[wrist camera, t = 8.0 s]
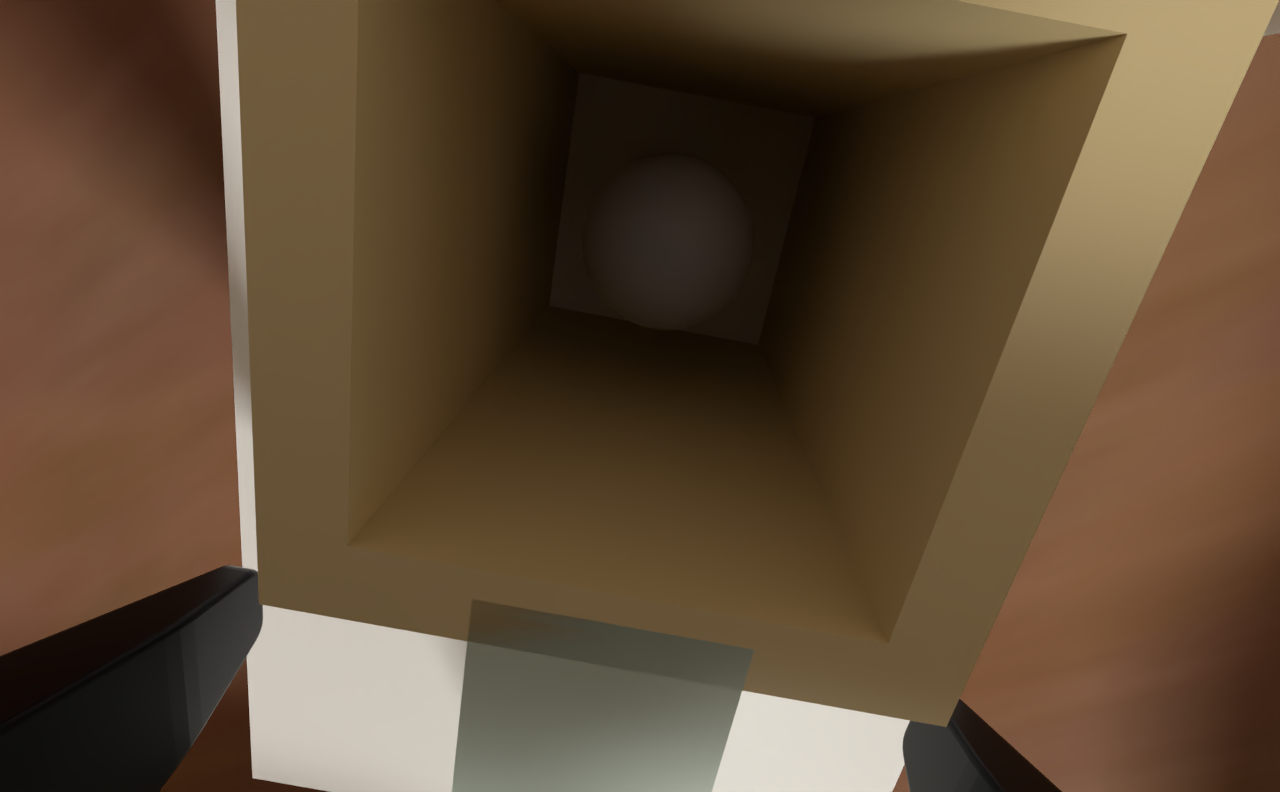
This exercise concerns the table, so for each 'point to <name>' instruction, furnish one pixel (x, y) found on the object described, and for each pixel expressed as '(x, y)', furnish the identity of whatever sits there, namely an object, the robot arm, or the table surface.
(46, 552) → the table surface
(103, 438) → the table surface
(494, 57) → the square socket tool
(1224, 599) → the table surface
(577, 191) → the l-shaped pin bracket
